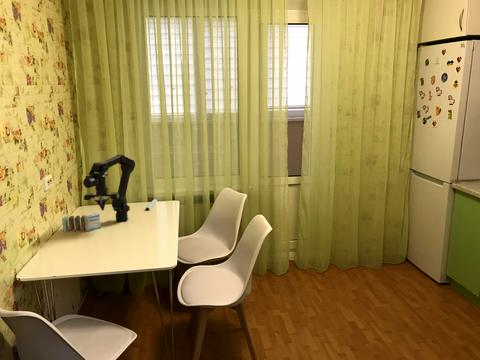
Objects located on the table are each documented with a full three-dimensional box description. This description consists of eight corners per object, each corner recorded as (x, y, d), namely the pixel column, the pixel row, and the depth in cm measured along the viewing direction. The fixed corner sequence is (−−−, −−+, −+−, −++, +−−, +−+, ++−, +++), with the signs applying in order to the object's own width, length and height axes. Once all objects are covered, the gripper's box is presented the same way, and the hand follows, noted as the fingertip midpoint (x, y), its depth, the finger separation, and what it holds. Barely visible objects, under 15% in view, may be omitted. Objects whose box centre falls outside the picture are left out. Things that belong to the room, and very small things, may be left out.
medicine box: (89, 231, 228) (87, 217, 226) (84, 230, 231) (83, 216, 229) (101, 228, 234) (99, 214, 233) (96, 226, 237) (95, 213, 235)
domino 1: (86, 228, 235) (85, 215, 233) (84, 231, 230) (83, 217, 228) (84, 228, 234) (82, 215, 233) (81, 231, 230) (80, 217, 228)
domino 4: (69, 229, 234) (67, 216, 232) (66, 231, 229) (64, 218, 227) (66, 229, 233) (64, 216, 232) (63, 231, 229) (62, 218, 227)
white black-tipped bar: (149, 212, 267) (149, 207, 267) (140, 212, 268) (139, 207, 267) (157, 203, 290) (157, 199, 289) (148, 203, 290) (148, 199, 289)
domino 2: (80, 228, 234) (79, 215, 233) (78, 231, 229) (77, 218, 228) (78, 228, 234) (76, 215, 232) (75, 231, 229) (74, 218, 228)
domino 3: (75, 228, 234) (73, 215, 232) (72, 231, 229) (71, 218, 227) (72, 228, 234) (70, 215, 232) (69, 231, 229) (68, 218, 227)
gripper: (119, 181, 237) (121, 206, 240) (87, 182, 235) (90, 207, 238) (116, 185, 226) (118, 211, 229) (82, 186, 224) (85, 212, 227)
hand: (102, 210), depth 231 cm, fingers closed
